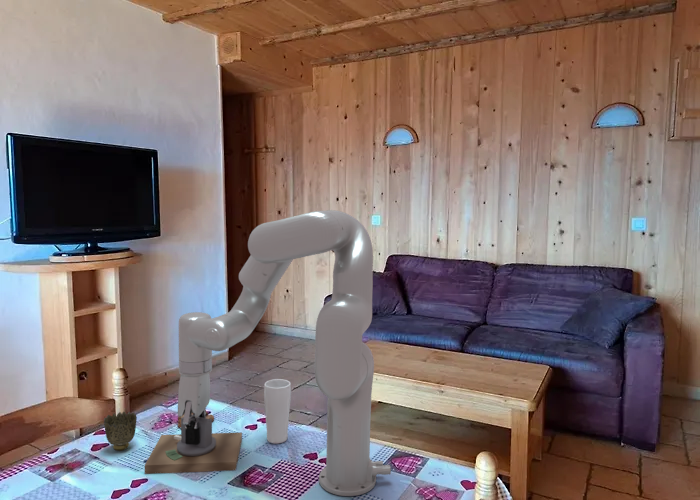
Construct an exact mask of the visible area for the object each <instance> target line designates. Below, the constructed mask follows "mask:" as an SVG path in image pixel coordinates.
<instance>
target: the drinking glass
mask: <svg viewBox="0 0 700 500" xmlns="http://www.w3.org/2000/svg"><path fill="white" fill-rule="evenodd" d="M291 385H292V384H291V381H289V380H287V379H282V378H274V379H270V380H267V381H266V382H264V385H263V386H264V389H263V391H264V392H263V401H264V402H263V403H264V413H265V426H266V427H265V428H266V439H267V441H268V442H269V443H271V444H282V443H284V442H286V441H287V440H288V435H289V434H288V432H289V431H288V430H289V419H290V409H291V399H292V398H291V397H292V395H291V394H292V388H291V387H292V386H291Z"/></svg>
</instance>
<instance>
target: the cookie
mask: <svg viewBox="0 0 700 500" xmlns="http://www.w3.org/2000/svg"><path fill="white" fill-rule="evenodd" d="M184 414H185V413H184ZM184 414H183V416H182V417H179V416H178V415H177V421H178V422H177V427H178V428H179V429H181V418H183V417H184ZM191 415H193V413H191ZM206 418H207V419H212V423H214V420H215V417H214V415H213V414H209V413H208V412H207V411H206Z"/></svg>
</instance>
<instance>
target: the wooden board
mask: <svg viewBox="0 0 700 500" xmlns="http://www.w3.org/2000/svg"><path fill="white" fill-rule="evenodd" d="M175 435H176V434H161V435H160V437H159V439H158V441H156V444H155V446H154V447H153V449H152V452H151V453H150V454H149V457H148V458H147V460H146V462H145V464H144V475H149V474H150V475H151V474H154V475H155V474H175V473H176V474H178V473H179V474H180V473H200V472H201V473H202V472H203V473H204V472H225V471H226V472H228V471H236V470H237V465H238V460H239V456H240V451H241V447H242V441H243V432H217V433H216V432H212V437H214V438H215V439H216V447H215V449H214V450H212V451H211V452H209V453H207V454H204V455H200V456H184V455H181V454H179V453H178V452H177V443H178V442H179V441H180V440H178V439H174V436H175ZM177 435H179V436H181V433H179V434H177Z"/></svg>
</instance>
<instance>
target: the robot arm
mask: <svg viewBox="0 0 700 500" xmlns="http://www.w3.org/2000/svg"><path fill="white" fill-rule="evenodd" d="M247 240H248V241H247V249H248V252H249V254H250V256H249V257H248V259H247V260H246V262H245V263H244V264H243V266H242V267H241V270H240V271H239V273H238V280H239V282H240V283H241V285H242V286H243V287H242V291H241V293H240V295H239V296H238V299H237V300H236V302H235V304H234V305H233V307H231V310H229V312H226V313H224V314H221V315H219V316H216V317H213V318H212V317H211V315H210V314H209V313H206V312H202V311H201V312H198V311H195V312H188V313H187V312H186V313H184V314H182V315H181V316H179V318H178V374H180V376H179V381H178V392H177V393H178V395H177V417H178V416H179V417H182V416H183V414H184V413H185V414H184V419H183V424H184V425H185V443H186V444H189V445H198V444H199V443H200V428H198V418H199V417H203V418H206V412H207V410H206V409H207V407H208V406H209V403H210V401H211V379H210V378H211V377H210V374H211V372H212V371H213V352H223V351H226V350H227V349H230V348H232V347H233V346H235V345H236V344H238V343H240V342H242V341H243V340H244V341H245V339H247V338H248V337H249V336H250V335H251V334H252V333H253V331H254V330H255V328H256V327H257V325H258V324H259V322H260V320H261V319H262V317H264V314H265V312H266V310H267V309H268V306H269V304H270V300H271V296H272V293H273V291H274V290H275V288H276V286H277V285H278V284H279V282H280V280H281V279H282V277H283V276H284V274H285V273H286V271H287V270H288V268H289V266H291V264H292V262H293V260H296V259H301V258H304V257H305V258H306V257H309V256H314V255H315V256H316V255H319V254H320V255H321V254H324V253H327V252H331V251H333V253H334V265H333V268H332V269H333V271H332V294H331V300H329V301H328V302H326V303H325V304H324V305H323V306H322V307H321V309H320V310H319V312H318V315H317V318H316V325H315V341H314V343H315V344H314V350H315V351H314V378H315V381H316V384H317V387H318V389H319V391H321V393H322V394H323V395H324V396H326V398H327V404H326V405H327V408H326V462H325V463H326V464H325V465H326V466H325V467H324V468H322V470H320V473H319V475H318V482H319V484H320V486H321V488H323V490H324V491H327V492H328V493H330V494H332V495H336V496H343V497H353V496H360V495H363V494H366V493H368V492H369V491H371V490H372V489H374V487H375V486H376V483H377V475H384V476H385V475H392V474H391V473H392V472H391V471H392V470H391V464H385V465H384V461H383V460H376V461H373V460H372V459H371V456H370V452H371V449H370V448H371V418H372V417H371V413H372V392H373V391H372V390H373V383H374V372H375V360H374V355H373V352H372V350H371V348H370V347H369V346H368V345H367V344H366V343H365V342H363V334H364V333H365V332H366V331H367V329H369V327H370V325H371V323H372V320H373V319H372V318H373V286H374V285H373V283H374V282H373V277H374V275H373V269H374V268H373V267H374V250H373V245H372V243H373V242H372V240H371V236H370V235H369V233H368V230H367V229H366V228H365V226H364V225H363V224H362V222H360V221H359V220H358V219H357V218H355V217H354V216H353V215H351V214H349V213H347V212H343V211H340V210H333V209H331V210H330V209H328V210H315V211H311V212H305V213H302V214H297V215H295V216H290V217H285V218H282V219H277V220H274V221H273V220H272V221H267V222H264V223H260V224H258V225H257V226H256V227H254V229H252V231H251V233H250V234H249V237H248V239H247ZM191 413H193V415H191ZM191 418H195V423H194V421H193V420H191Z"/></svg>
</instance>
